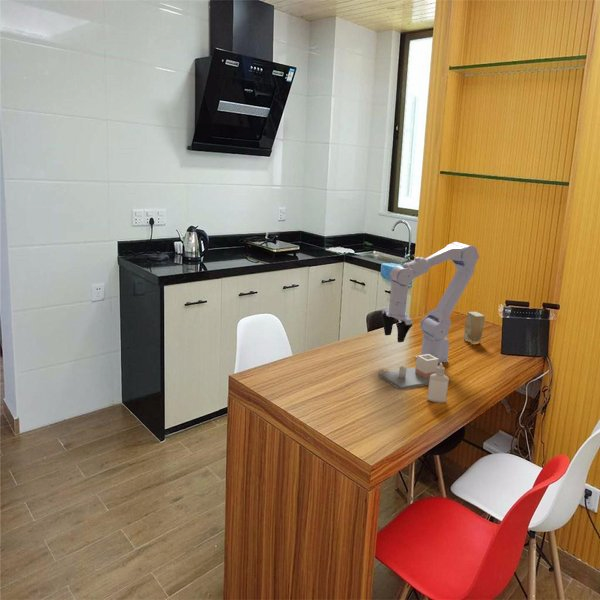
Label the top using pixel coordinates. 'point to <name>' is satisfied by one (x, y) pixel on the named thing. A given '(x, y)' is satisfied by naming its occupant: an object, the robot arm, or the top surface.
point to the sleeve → (426, 365)
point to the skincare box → (474, 327)
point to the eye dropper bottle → (438, 385)
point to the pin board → (405, 378)
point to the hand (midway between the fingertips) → (394, 338)
